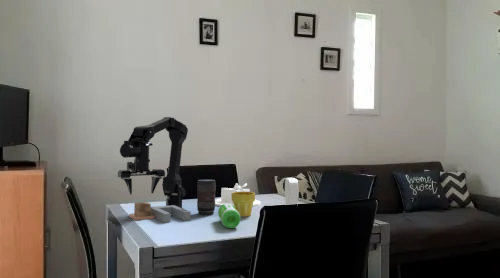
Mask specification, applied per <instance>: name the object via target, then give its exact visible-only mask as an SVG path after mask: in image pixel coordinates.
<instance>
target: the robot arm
mask: <svg viewBox="0 0 500 278" xmlns="http://www.w3.org/2000/svg"><path fill="white" fill-rule="evenodd" d="M163 130H165V131H167V132H168V138H169V140H170V143H171V146H170V155H169V163H168V172H167V174H166V171H165V170H164V169H161V168H152V170H151V169H150V162H151V160H150V147H152V146H153V145H154V144H153V143H152V142H151V141H150V140H152V139H153V138H154V136H155V135H156V134H157V133H159V132H161V131H163ZM188 132H189V129H188V127H187V125H186V124H184V123H183V122H181V121H179V120H177V119H176V118H175V117H172V116H165V117H163V118H161V119H159V120H157V121H155V122H152V123H149V124H148V125H139V126H135V127H134V128H133V130H132V133H131V134H130V137H129V138H128V140H124V141H123V143H122V144H121V146H120V148H119V154H120V156H121V157H123V158H128V159H129V158H133V161H127V162H126V169H119V170H118V171H117V178H121V180H123V181H124V183H125V184H126V187H127V190H128V193H129V195H130V196H131V195H133V180H132V179H133V178H131V177H137V176H139V177H140V176H151V185H150V186H151V190H150V192H151V194H154V192H155V190H156V189H157V185H158V184H159V181H160V180H161V179H162V184H161V186H162V191H163V194H164V196H165V197H166V199H165V206H170V205H175V206H177V207H180V208H182V209H184V207H183V197H185V196H186V193H187V192H186V190H185V188H184V187H183V184H182V183H183V182H182V181H183V180H182V178H181V176H180V170H181V168H180V167H181V158H182V148H183V144H184V142H185V141H186V139H187V136H188Z"/></svg>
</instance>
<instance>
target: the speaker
mask: <svg viewBox="0 0 500 278" xmlns="http://www.w3.org/2000/svg"><path fill="white" fill-rule="evenodd" d="M217 215H218V217H219V218H220V221H221V224H222V225H223V226H224V227H226V228H227V229H235V228H237V227H238V226H239V225H240V222H241V216H240V214H239V212H238V211H237V210H236V209H235V207H234V206H233V205H232V204H229V203H225V204H223V205H221V206H220V207H219V208H218V211H217Z"/></svg>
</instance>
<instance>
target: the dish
mask: <svg viewBox="0 0 500 278" xmlns="http://www.w3.org/2000/svg"><path fill="white" fill-rule="evenodd" d="M246 186H248V183H247V182H246V183H244V184H243V185H242V186H241V185H239V183H237V182H236V183H235V185H234V187H233V188H230V187H229V188H228V187H221V193H220V195H221V197H220V198H215V207H219V206H221V205H223V204H225V203H229V204H232V205H233V206H234V204H233V201H232V193H233V192H251V191H250V190H251V189H250V188H244V187H246ZM260 205H262V202H261V201H260V200H258V199H255V201H254V202H253V207H252V208H254V207H259V206H260Z"/></svg>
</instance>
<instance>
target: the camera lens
mask: <svg viewBox="0 0 500 278" xmlns="http://www.w3.org/2000/svg"><path fill="white" fill-rule="evenodd" d="M196 187H197V189H196V190H197V199H196V200H197V201H196V208H197V212H198V215H199V216H212V215H214V213H215V208H216V206H215V199H216V189H217V185H216V180H215V179H198V180H197V186H196Z"/></svg>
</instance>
